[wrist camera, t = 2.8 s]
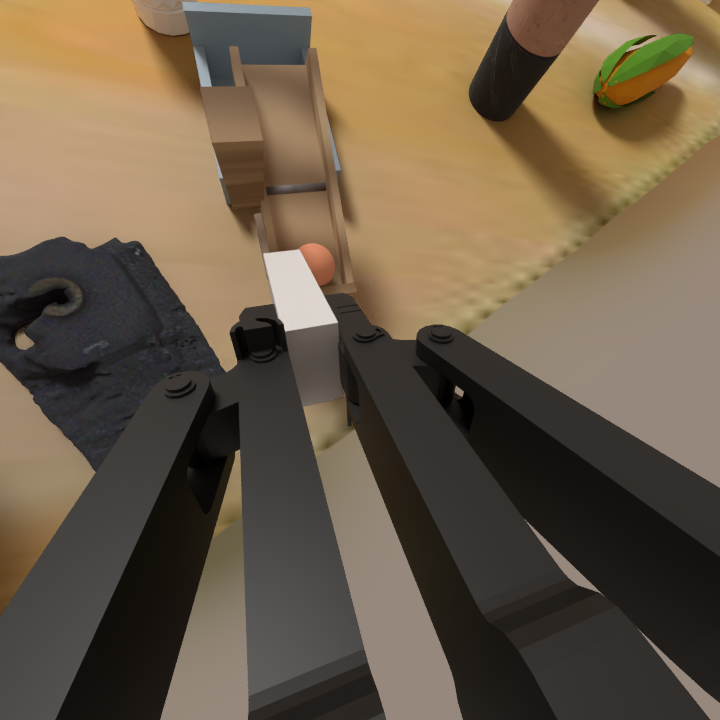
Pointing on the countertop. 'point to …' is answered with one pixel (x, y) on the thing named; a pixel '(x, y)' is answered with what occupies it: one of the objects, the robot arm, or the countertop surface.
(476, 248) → the countertop surface
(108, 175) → the countertop surface
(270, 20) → the bin
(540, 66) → the travel mug
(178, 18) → the white cup
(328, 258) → the ball
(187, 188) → the countertop surface
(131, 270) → the dark slate chunk
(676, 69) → the corn
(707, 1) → the milk
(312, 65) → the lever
